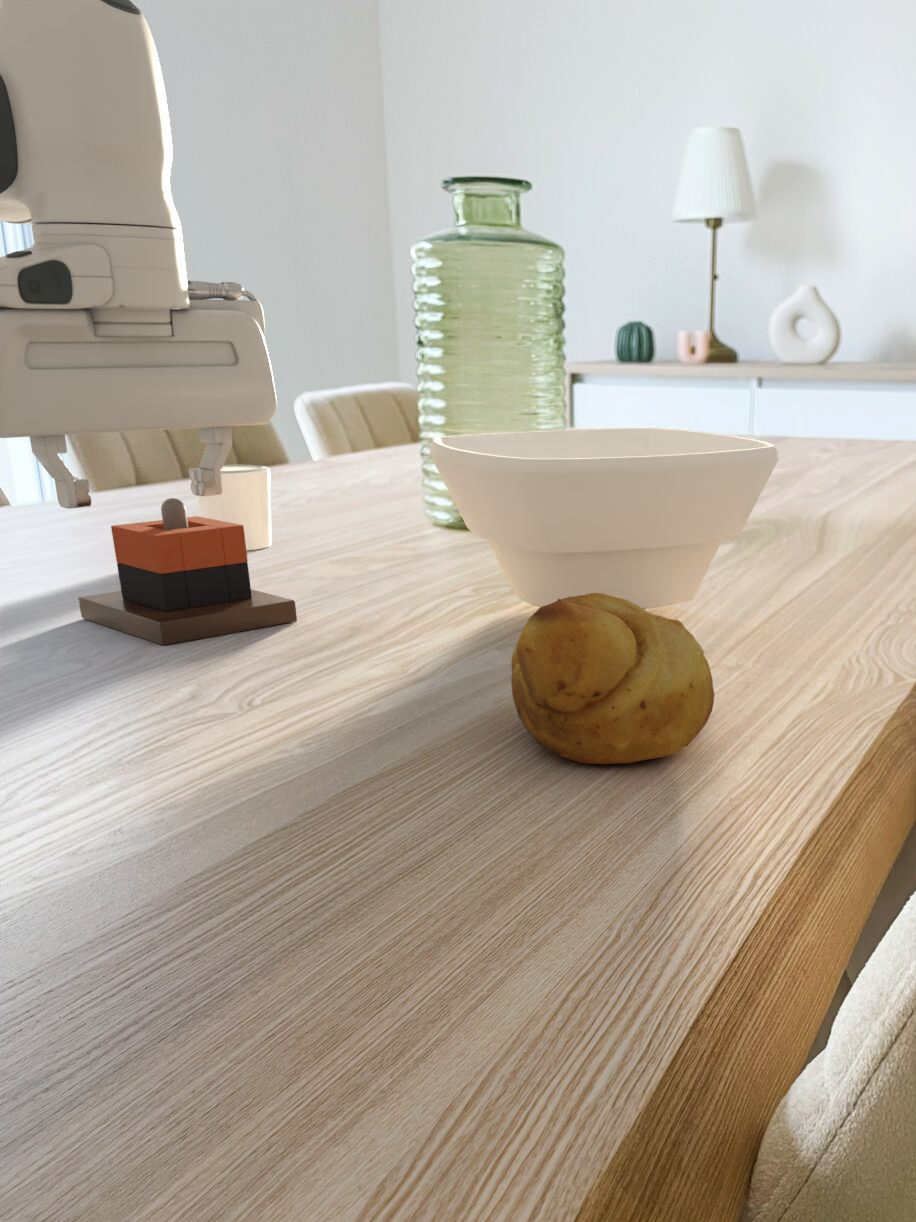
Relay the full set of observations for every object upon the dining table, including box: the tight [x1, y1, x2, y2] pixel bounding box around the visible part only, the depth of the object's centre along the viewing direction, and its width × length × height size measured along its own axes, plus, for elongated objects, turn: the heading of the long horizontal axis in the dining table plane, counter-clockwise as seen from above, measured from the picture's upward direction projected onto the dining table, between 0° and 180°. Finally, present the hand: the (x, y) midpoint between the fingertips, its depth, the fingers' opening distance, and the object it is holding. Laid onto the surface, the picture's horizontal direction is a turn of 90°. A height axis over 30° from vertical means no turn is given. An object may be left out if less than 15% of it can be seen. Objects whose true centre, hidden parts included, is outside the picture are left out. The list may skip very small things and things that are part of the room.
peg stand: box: [78, 497, 298, 646], centre depth 90 cm, size 12×10×8 cm
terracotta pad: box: [110, 515, 249, 574], centre depth 89 cm, size 6×6×2 cm
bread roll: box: [510, 593, 715, 765], centre depth 64 cm, size 13×10×8 cm
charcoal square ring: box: [116, 562, 252, 612], centre depth 90 cm, size 6×6×2 cm
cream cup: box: [196, 463, 272, 551], centre depth 119 cm, size 7×7×7 cm
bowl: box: [429, 427, 779, 610], centre depth 93 cm, size 22×22×12 cm
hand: (143, 500), depth 88 cm, fingers open, 8 cm apart
